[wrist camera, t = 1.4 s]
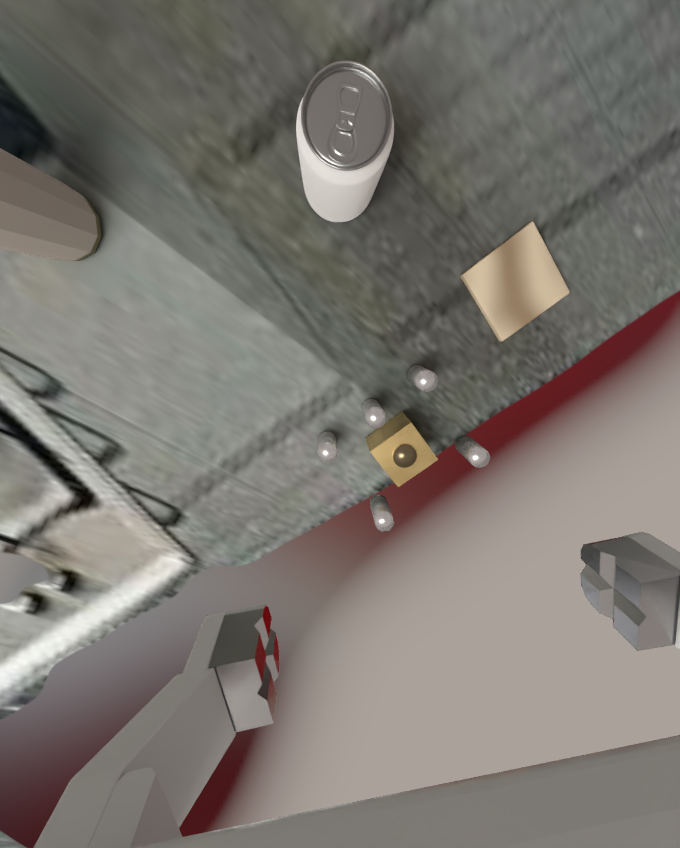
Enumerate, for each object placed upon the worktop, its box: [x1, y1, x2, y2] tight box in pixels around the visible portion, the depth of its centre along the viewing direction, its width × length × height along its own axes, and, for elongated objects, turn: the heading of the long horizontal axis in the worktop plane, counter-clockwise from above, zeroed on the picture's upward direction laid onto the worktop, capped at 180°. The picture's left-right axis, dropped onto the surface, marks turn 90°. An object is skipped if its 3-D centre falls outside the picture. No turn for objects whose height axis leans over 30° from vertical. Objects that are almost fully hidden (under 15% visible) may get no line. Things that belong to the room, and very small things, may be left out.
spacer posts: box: [317, 365, 490, 531], centre depth 39 cm, size 14×12×4 cm
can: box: [296, 60, 394, 222], centre depth 28 cm, size 6×6×12 cm
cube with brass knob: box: [366, 412, 438, 487], centre depth 39 cm, size 5×5×5 cm
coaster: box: [460, 221, 570, 341], centre depth 37 cm, size 8×8×1 cm
